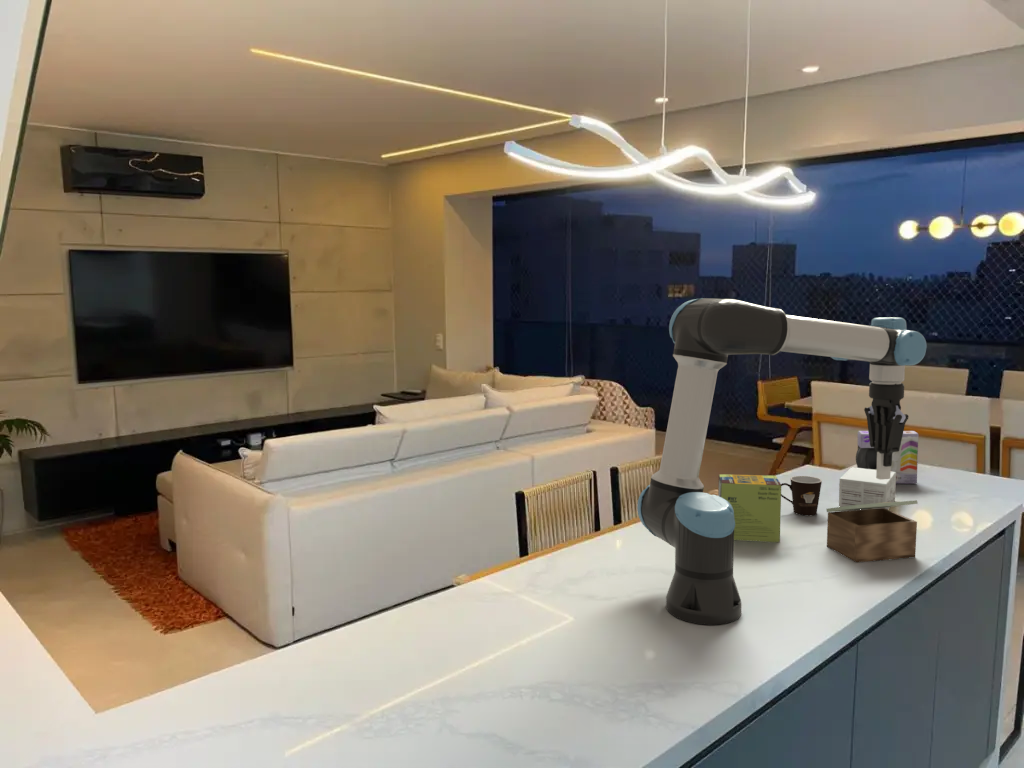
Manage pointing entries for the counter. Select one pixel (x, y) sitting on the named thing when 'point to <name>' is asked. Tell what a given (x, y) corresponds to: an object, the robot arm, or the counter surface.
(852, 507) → the lid
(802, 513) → the coffee mug
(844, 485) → the supplement box
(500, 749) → the counter surface
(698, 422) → the robot arm
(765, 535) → the protein box
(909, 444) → the cake pan box
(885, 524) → the crate
